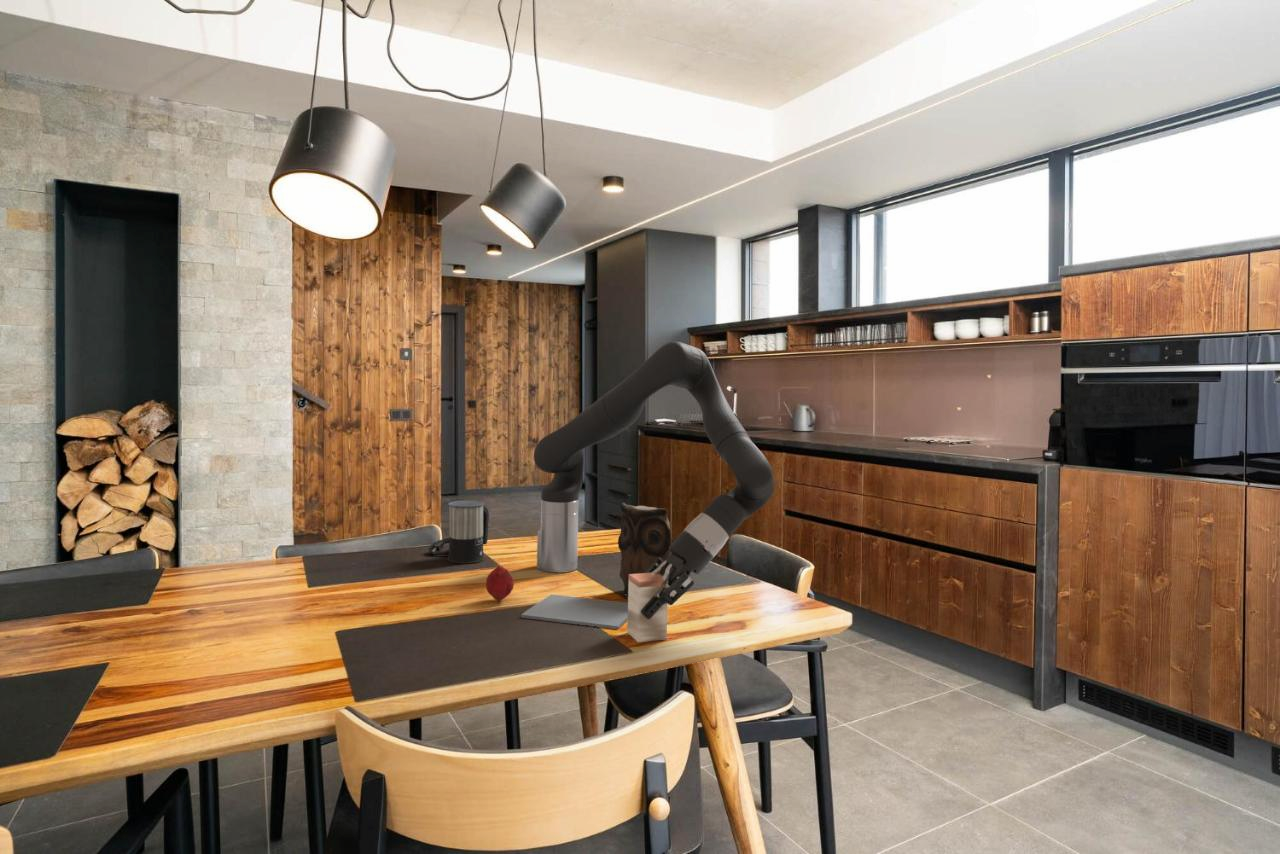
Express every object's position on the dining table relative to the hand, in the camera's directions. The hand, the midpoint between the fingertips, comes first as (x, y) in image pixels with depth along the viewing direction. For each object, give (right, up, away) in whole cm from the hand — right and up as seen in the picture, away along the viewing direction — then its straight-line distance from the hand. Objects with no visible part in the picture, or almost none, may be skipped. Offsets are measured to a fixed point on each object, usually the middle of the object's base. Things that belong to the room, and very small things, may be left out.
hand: (638, 610), depth 136 cm
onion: (-29, -3, +20) cm, 36 cm away
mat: (-11, -4, +14) cm, 18 cm away
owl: (+3, -4, +29) cm, 29 cm away
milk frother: (-48, -1, +58) cm, 75 cm away
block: (+2, -5, +1) cm, 5 cm away
